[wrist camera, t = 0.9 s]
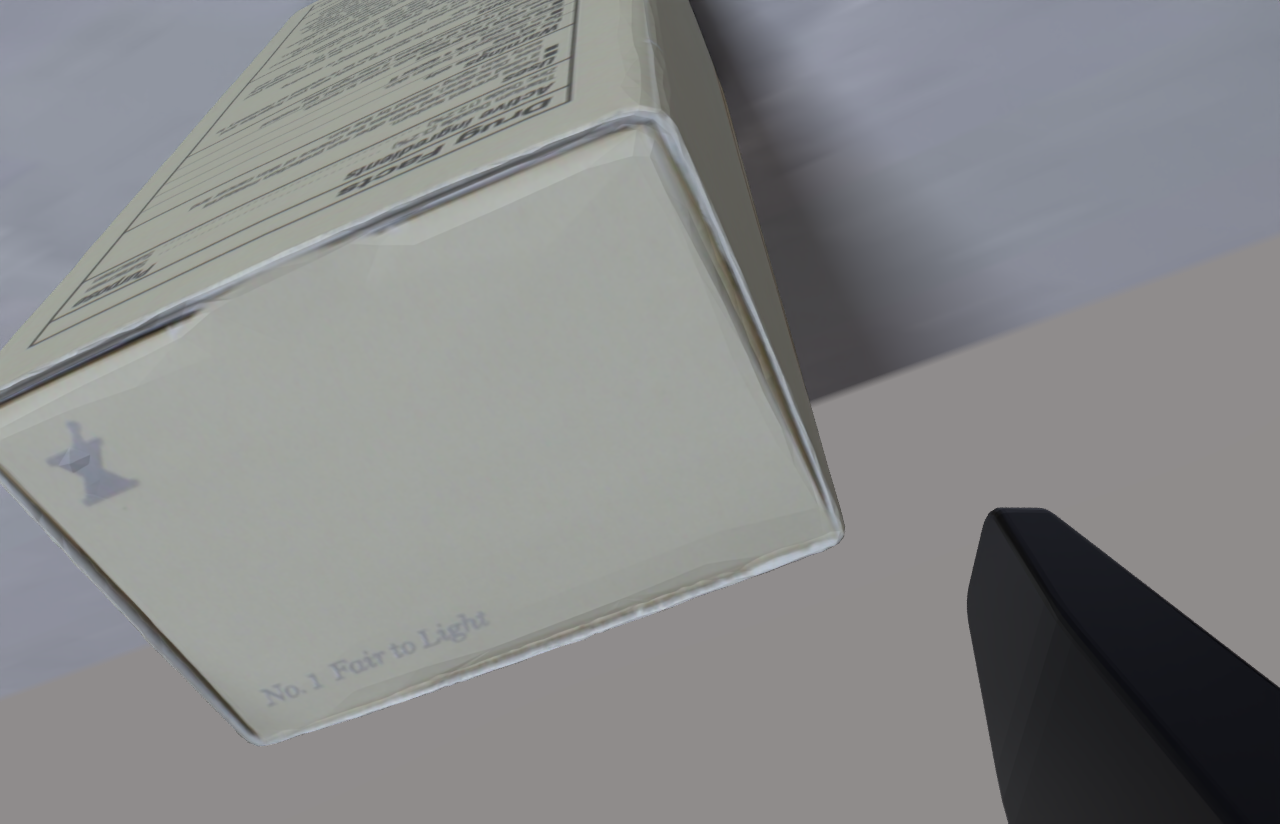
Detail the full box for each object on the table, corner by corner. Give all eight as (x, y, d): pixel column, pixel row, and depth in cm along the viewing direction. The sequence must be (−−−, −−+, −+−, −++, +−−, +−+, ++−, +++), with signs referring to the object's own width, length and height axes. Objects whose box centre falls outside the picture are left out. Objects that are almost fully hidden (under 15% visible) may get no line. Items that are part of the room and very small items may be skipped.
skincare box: (418, 229, 21) (239, 773, 11) (281, 0, 19) (-101, 426, 9) (740, 90, 20) (868, 568, 10) (635, -174, 18) (661, 95, 8)
